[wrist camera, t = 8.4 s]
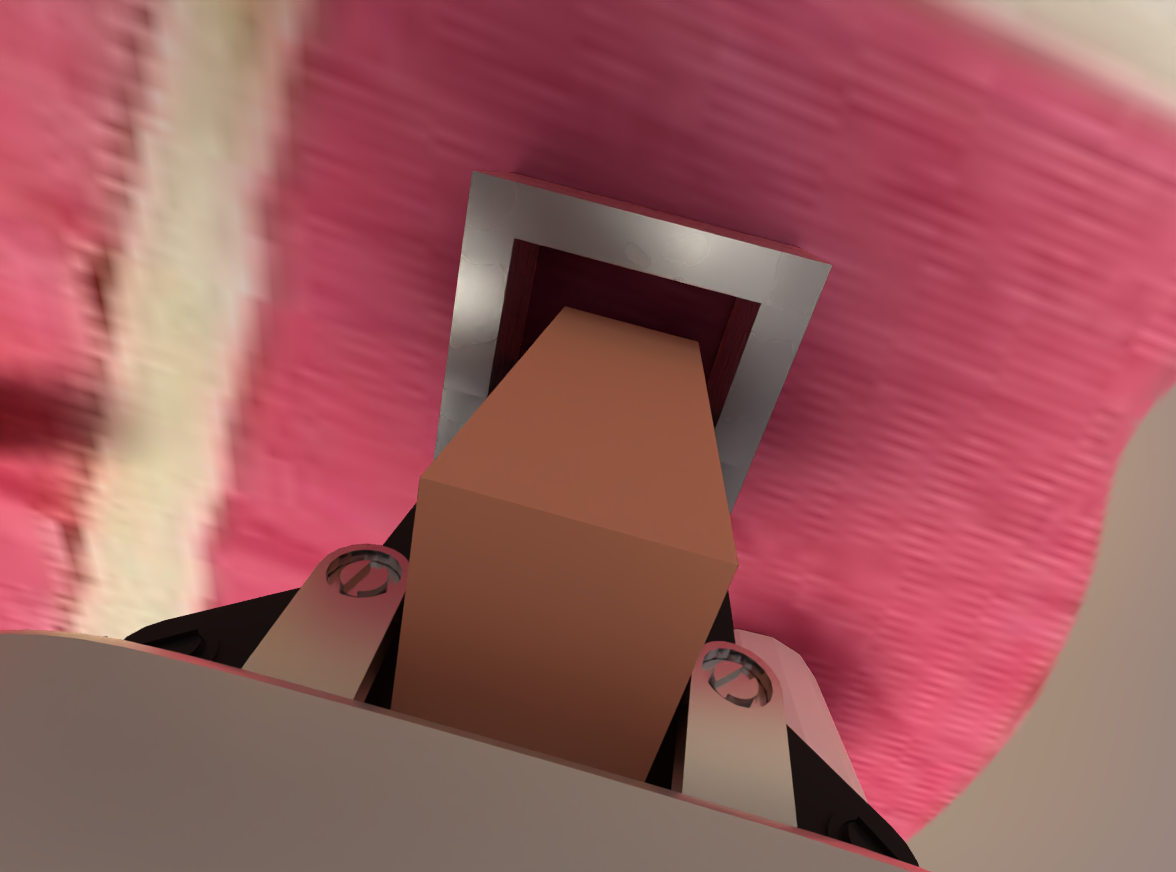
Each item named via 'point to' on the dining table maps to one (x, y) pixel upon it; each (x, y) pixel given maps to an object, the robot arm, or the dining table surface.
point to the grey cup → (803, 703)
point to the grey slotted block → (640, 242)
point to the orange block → (571, 550)
